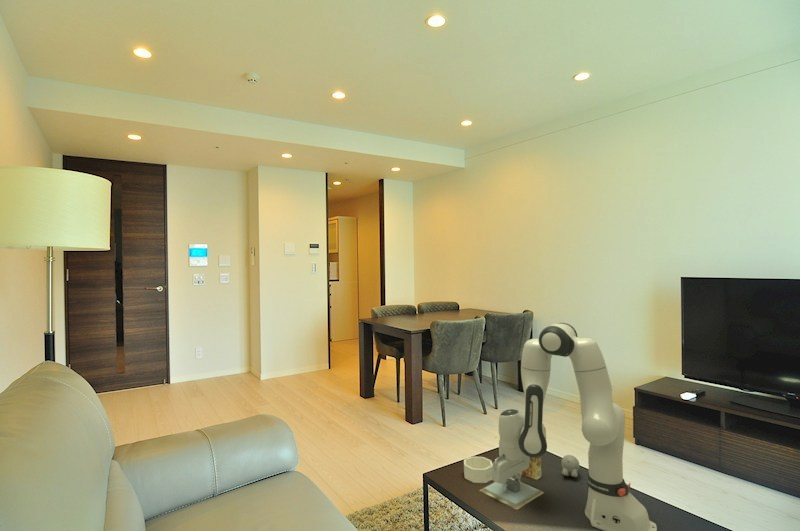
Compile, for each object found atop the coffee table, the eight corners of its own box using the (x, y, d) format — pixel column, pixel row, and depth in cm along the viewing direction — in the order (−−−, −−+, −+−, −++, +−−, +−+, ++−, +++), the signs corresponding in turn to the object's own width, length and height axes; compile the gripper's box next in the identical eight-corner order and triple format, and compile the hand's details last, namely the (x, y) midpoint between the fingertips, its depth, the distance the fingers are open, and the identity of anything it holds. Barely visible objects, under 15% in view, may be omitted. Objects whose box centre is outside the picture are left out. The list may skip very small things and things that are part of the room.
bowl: (498, 477, 180) (498, 463, 180) (480, 487, 173) (479, 472, 173) (476, 467, 190) (476, 454, 190) (458, 476, 182) (458, 462, 182)
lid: (538, 492, 167) (538, 482, 167) (515, 506, 157) (515, 495, 157) (507, 478, 178) (507, 468, 178) (484, 490, 169) (484, 480, 169)
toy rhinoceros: (580, 477, 184) (581, 456, 186) (578, 479, 174) (578, 456, 177) (563, 474, 187) (564, 453, 190) (559, 475, 177) (560, 453, 180)
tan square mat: (544, 493, 167) (544, 492, 167) (516, 511, 155) (516, 509, 155) (506, 476, 181) (506, 475, 181) (479, 491, 169) (479, 490, 169)
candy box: (541, 477, 179) (540, 441, 179) (536, 481, 176) (535, 444, 176) (523, 470, 186) (522, 436, 186) (517, 474, 183) (517, 438, 183)
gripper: (500, 462, 159) (501, 498, 159) (531, 446, 172) (532, 480, 172) (487, 456, 164) (488, 492, 164) (518, 441, 177) (519, 474, 177)
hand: (511, 486), depth 168 cm, fingers open, 6 cm apart
